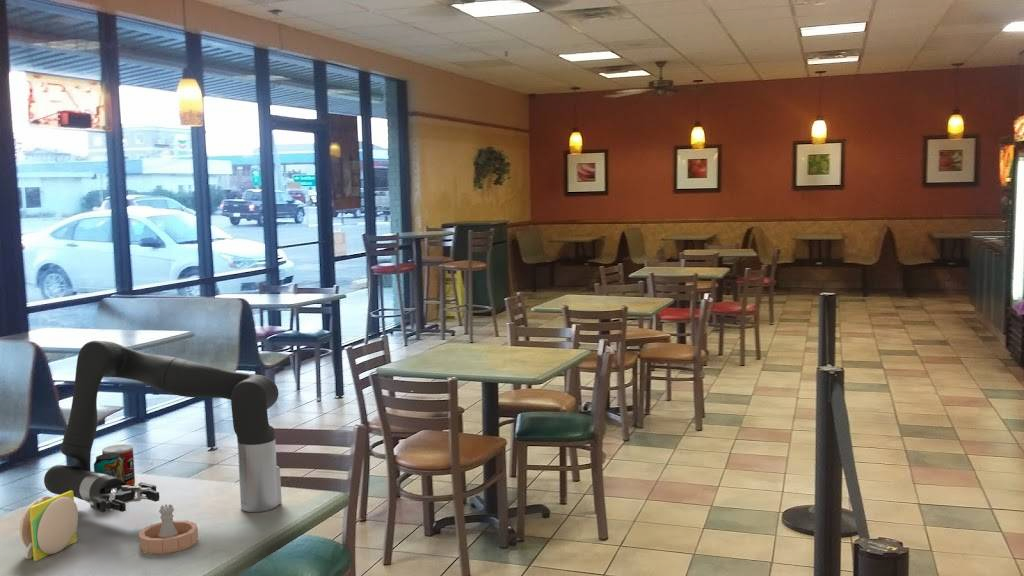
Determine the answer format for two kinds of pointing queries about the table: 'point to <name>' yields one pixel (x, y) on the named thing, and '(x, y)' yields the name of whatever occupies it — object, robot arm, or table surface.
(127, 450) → the canned food
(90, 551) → the table surface
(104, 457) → the beverage can
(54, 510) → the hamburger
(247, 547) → the table surface
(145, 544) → the dish
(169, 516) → the rook chess piece
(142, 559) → the table surface
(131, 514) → the table surface
